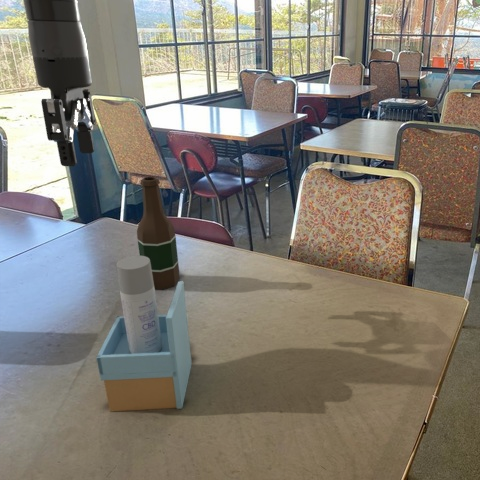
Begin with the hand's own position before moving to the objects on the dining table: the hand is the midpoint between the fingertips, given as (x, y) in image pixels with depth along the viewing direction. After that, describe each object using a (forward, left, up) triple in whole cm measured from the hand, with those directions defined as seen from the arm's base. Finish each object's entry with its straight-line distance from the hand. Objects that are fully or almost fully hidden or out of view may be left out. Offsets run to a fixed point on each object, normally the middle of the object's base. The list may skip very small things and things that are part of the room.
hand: (78, 159), depth 79 cm
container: (+12, -19, -25) cm, 34 cm away
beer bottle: (+7, +16, -32) cm, 37 cm away
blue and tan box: (+12, -19, -32) cm, 39 cm away
